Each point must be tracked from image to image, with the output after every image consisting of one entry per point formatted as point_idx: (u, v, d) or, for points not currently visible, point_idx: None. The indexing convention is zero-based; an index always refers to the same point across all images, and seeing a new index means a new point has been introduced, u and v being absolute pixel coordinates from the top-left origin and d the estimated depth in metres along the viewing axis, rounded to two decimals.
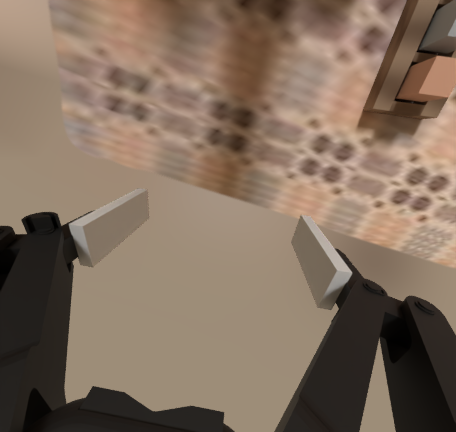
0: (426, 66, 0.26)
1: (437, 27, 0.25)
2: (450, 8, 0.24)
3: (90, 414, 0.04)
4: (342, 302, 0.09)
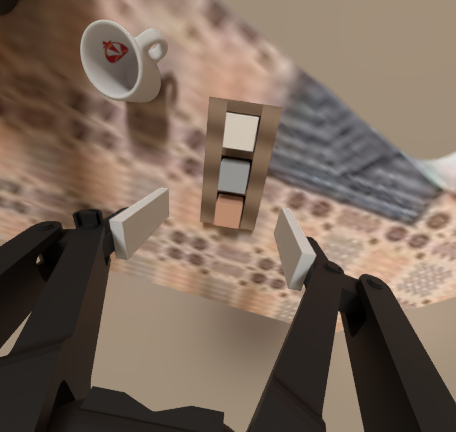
0: None
1: None
2: None
3: (90, 414, 0.04)
4: (308, 283, 0.10)
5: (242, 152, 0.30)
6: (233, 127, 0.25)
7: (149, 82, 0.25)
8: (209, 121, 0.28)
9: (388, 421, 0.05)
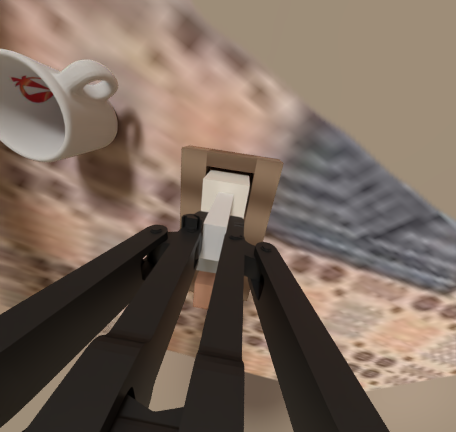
0: None
1: None
2: None
3: None
4: None
5: None
6: (213, 197, 0.17)
7: (90, 133, 0.17)
8: (183, 178, 0.21)
9: (289, 362, 0.06)
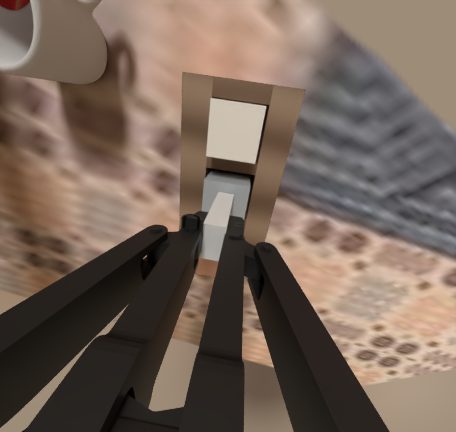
0: None
1: None
2: None
3: None
4: None
5: (238, 164, 0.19)
6: (222, 124, 0.15)
7: (70, 42, 0.14)
8: (184, 114, 0.17)
9: (289, 362, 0.06)
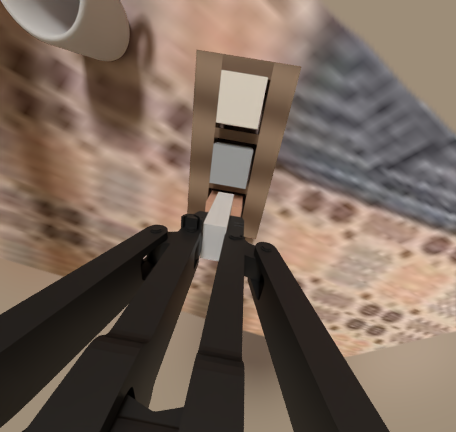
0: None
1: None
2: None
3: None
4: None
5: (243, 134, 0.22)
6: (231, 93, 0.17)
7: (104, 20, 0.16)
8: (197, 88, 0.20)
9: (289, 362, 0.06)
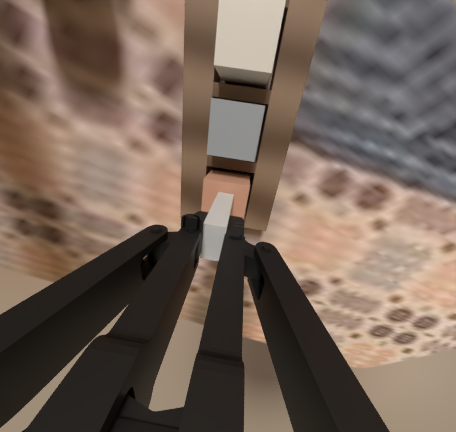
0: None
1: None
2: None
3: None
4: None
5: (250, 90, 0.16)
6: (234, 17, 0.12)
7: None
8: (188, 24, 0.15)
9: (289, 362, 0.06)
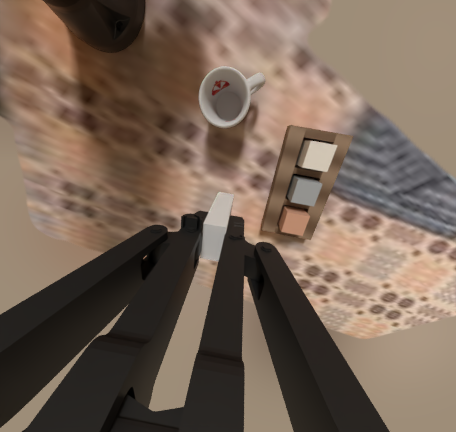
0: (285, 214, 0.36)
1: (290, 189, 0.35)
2: (294, 182, 0.34)
3: None
4: None
5: (311, 171, 0.34)
6: (314, 152, 0.30)
7: None
8: (287, 145, 0.33)
9: (289, 362, 0.06)
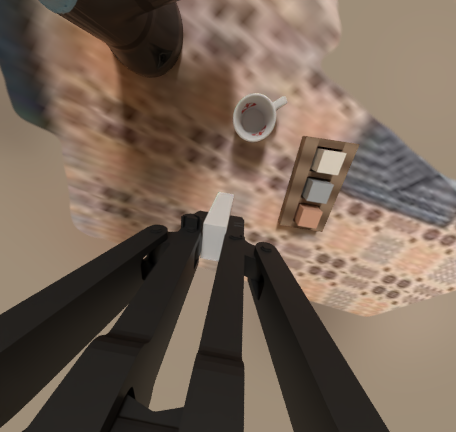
0: (301, 210, 0.42)
1: (306, 189, 0.42)
2: (309, 183, 0.40)
3: None
4: None
5: (324, 174, 0.40)
6: (327, 159, 0.36)
7: None
8: (303, 152, 0.39)
9: (289, 362, 0.06)
